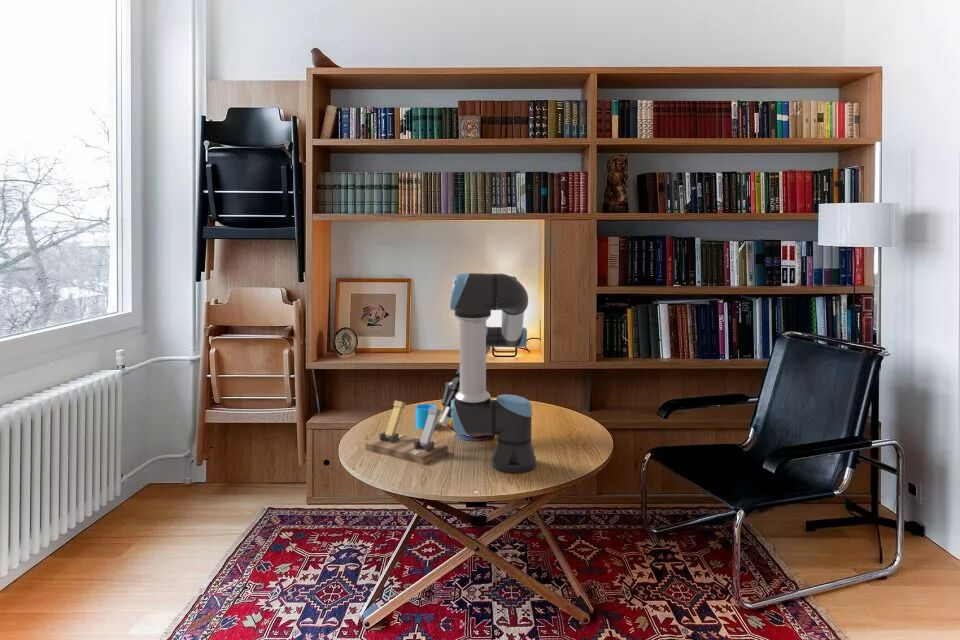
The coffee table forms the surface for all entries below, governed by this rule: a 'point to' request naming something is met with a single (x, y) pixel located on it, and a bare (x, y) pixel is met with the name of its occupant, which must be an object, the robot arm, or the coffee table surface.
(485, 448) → the coffee table surface
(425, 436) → the grey lever
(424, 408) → the mug
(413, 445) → the console
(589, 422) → the coffee table surface
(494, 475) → the coffee table surface
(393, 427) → the ochre lever
